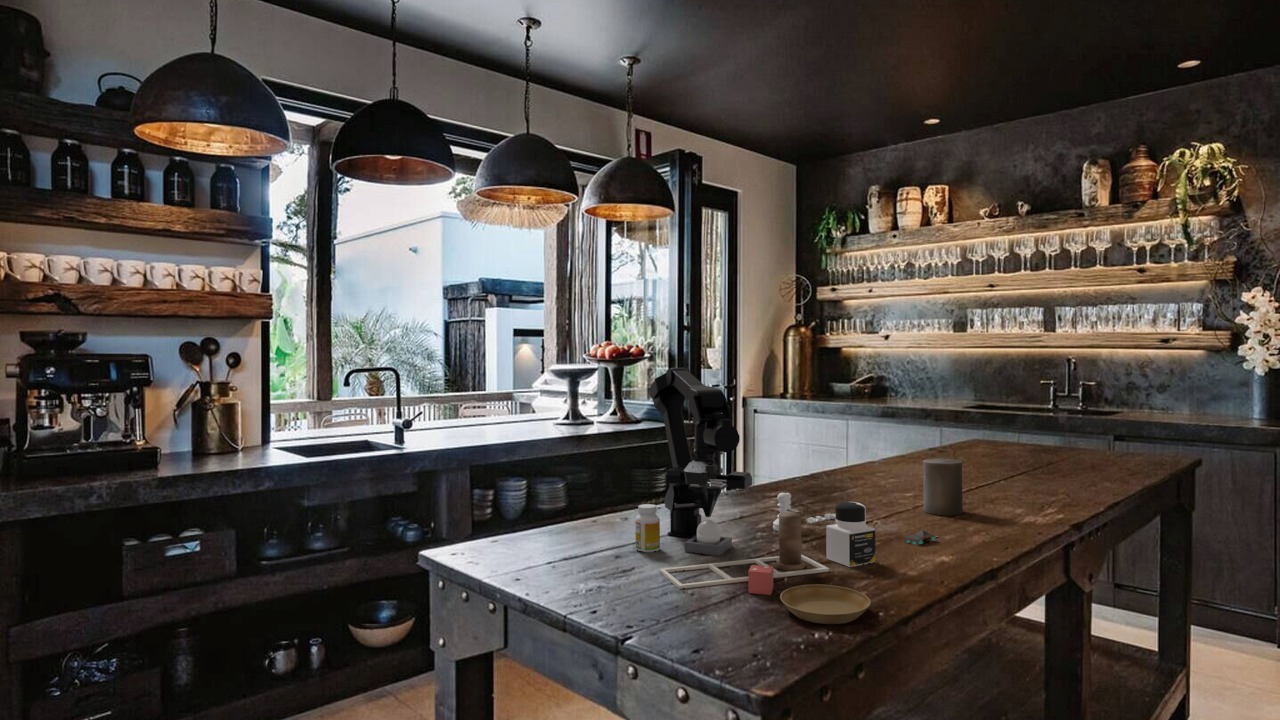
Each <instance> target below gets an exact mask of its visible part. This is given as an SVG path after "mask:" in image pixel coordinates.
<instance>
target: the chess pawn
mask: <svg viewBox="0 0 1280 720" xmlns="http://www.w3.org/2000/svg"><path fill="white" fill-rule="evenodd" d="M786 493H787V492H780V493H778V494H777V497H776V498H777V501H778V503H777V506H778V507H779V508H780V513H779V512H778V513H779V514H781V513H787V507H786V506H789V505H790V504H788V503H787V502H788V501H789V496H788V494H786ZM779 514H778V515H777V516H776V517H777V518H776V519H775V520H774V521H773V522H772V524H773V525H772V529H773V531H774V532H775V531H776V532H779Z"/></svg>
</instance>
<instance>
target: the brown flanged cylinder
mask: <svg viewBox="0 0 1280 720" xmlns="http://www.w3.org/2000/svg"><path fill="white" fill-rule="evenodd" d="M778 515H779V531H778V551H779V552H778V556H779V559H778V560H776V568H778V569H780V570H783V571H786V572H791V571H799V570H805V561H804V560H802V559H801V554H802V514H801V513H800V514H797V513H781V514H778Z"/></svg>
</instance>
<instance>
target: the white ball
mask: <svg viewBox="0 0 1280 720" xmlns="http://www.w3.org/2000/svg"><path fill="white" fill-rule="evenodd" d="M720 536H721V528H720V525H719V524H718V523H717V522H716V521H715V520H712V519H704V520H703V521H702V520H701V523H700V524H699V525H698V527H697V543H705V544H714V545H717V544H718V543H720Z"/></svg>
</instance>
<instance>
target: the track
mask: <svg viewBox="0 0 1280 720" xmlns="http://www.w3.org/2000/svg"><path fill="white" fill-rule="evenodd" d="M778 559H779V555H778V556H768V557H767V556H766V557H759V558H758V557H756V558H749V559H741V560H740V559H739V560H730V561H721V562H720V561H719V562H713V563H704V564H701V563H700V564H695V565H694V564H693V565H684V566H683V565H682V566H675V567H674V566H673V567H665V568H659V571H658V572H659V574H661V573H662V574H663V575H662V574H661V575H662V576H664V577H665V578H666V579H667V580H668V579H669V580H668V581H670V582H671V583H672V584H673V585H674V586H675V587H676V588H677V589H679V590H683V588H685V589H690V588H691V589H692V588H693V589H694V588H700V587H701V588H702V587H709V586H710V587H711V586H716V585H726V584H734V583H742V582H748V576H741V577H740V576H739V577H732V576H730V575H729V574H727V573H726V572H724V571H723V570H722V569H719V568H720V567H728V566H731V567H732V566H739V565H746V564H748V565H749V564H755V565H761V566H770V565H769V564H767V562H774V561H776V560H778ZM801 560H803V561H804V562H806V563H807V564H810V565H812V566H814V567H816V568H811V569H809V568H807V569H802V570H798V571H784V572H783V571H782V572H780V571H779V570H777V569H775V568H774V567H773V579H776V578H786V577H793V576H802V575H809V574H812V575H813V574H818V573H828V572H830V568H829V567H827V566H825V565H824V564H821V563H819V562H818V561H815V560H813V559H812V558H809V557H807V556H805V555H803V554H802V553H801ZM765 562H766V563H765ZM702 569H709V570H711V571H713V572H714V573H716V574H717V576H719V577H721V578H723V579H713V580H707V581H697V582H690V583H689V582H688V583H681V582H680V581H679V580H678V579H676V578H675V577H674V576H673V575H672V574H670V573H675V571H676V572H682V571H683V570H685V571H692V570H693V571H694V570H702ZM683 572H684V571H683Z"/></svg>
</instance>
